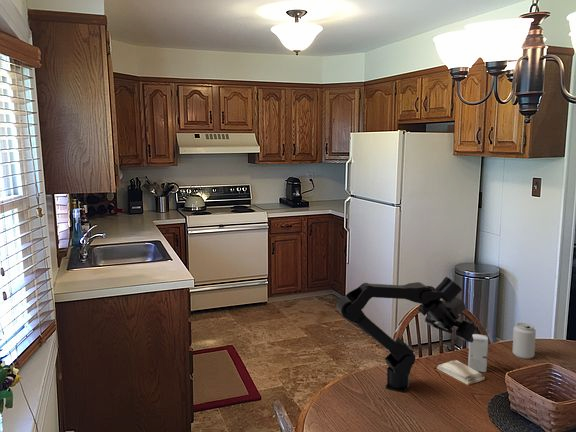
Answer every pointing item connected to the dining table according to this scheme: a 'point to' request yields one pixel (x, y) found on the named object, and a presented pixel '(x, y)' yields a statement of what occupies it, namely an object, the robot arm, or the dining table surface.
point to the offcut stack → (461, 372)
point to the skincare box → (478, 353)
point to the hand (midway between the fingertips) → (461, 336)
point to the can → (524, 340)
